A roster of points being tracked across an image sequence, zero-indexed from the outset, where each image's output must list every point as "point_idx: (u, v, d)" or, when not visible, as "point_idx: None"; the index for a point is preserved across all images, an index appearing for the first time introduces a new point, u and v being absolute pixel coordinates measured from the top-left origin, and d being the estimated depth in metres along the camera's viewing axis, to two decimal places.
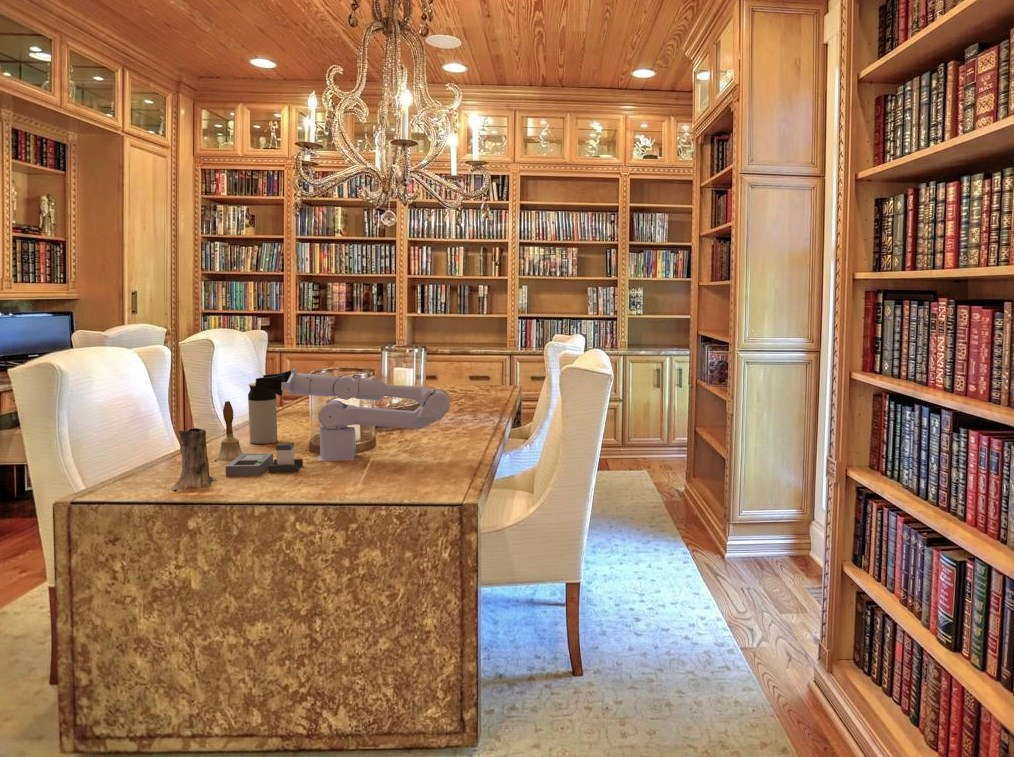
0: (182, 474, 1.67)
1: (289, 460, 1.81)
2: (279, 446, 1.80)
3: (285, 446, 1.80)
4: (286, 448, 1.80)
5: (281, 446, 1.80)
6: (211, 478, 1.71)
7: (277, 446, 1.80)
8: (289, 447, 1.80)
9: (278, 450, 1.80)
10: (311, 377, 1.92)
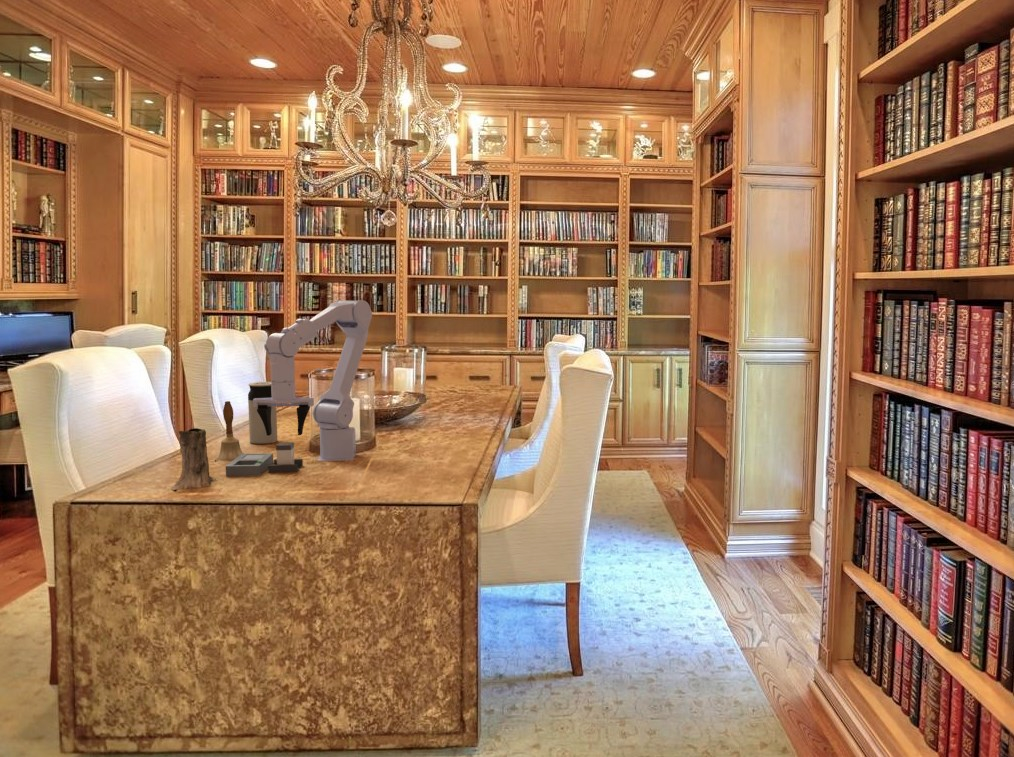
0: (182, 474, 1.67)
1: (289, 460, 1.81)
2: (279, 446, 1.80)
3: (285, 446, 1.80)
4: (286, 448, 1.80)
5: (281, 446, 1.80)
6: (211, 478, 1.71)
7: (277, 446, 1.80)
8: (289, 447, 1.80)
9: (278, 450, 1.80)
10: (288, 381, 1.78)
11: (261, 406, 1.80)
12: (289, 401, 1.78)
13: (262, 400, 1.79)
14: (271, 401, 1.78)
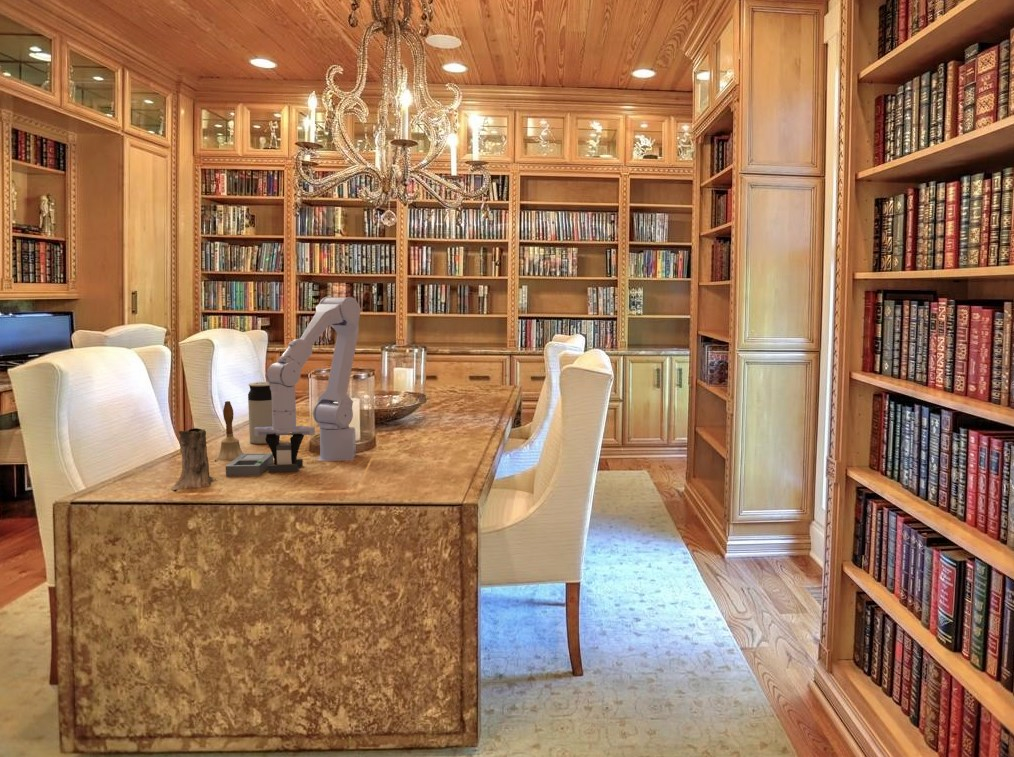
0: (182, 474, 1.67)
1: (289, 460, 1.81)
2: (279, 446, 1.80)
3: (285, 446, 1.80)
4: (286, 448, 1.80)
5: (281, 446, 1.80)
6: (211, 478, 1.71)
7: (277, 446, 1.80)
8: (289, 447, 1.80)
9: (278, 450, 1.80)
10: (289, 410, 1.79)
11: None
12: (290, 430, 1.79)
13: (263, 429, 1.80)
14: (272, 430, 1.79)
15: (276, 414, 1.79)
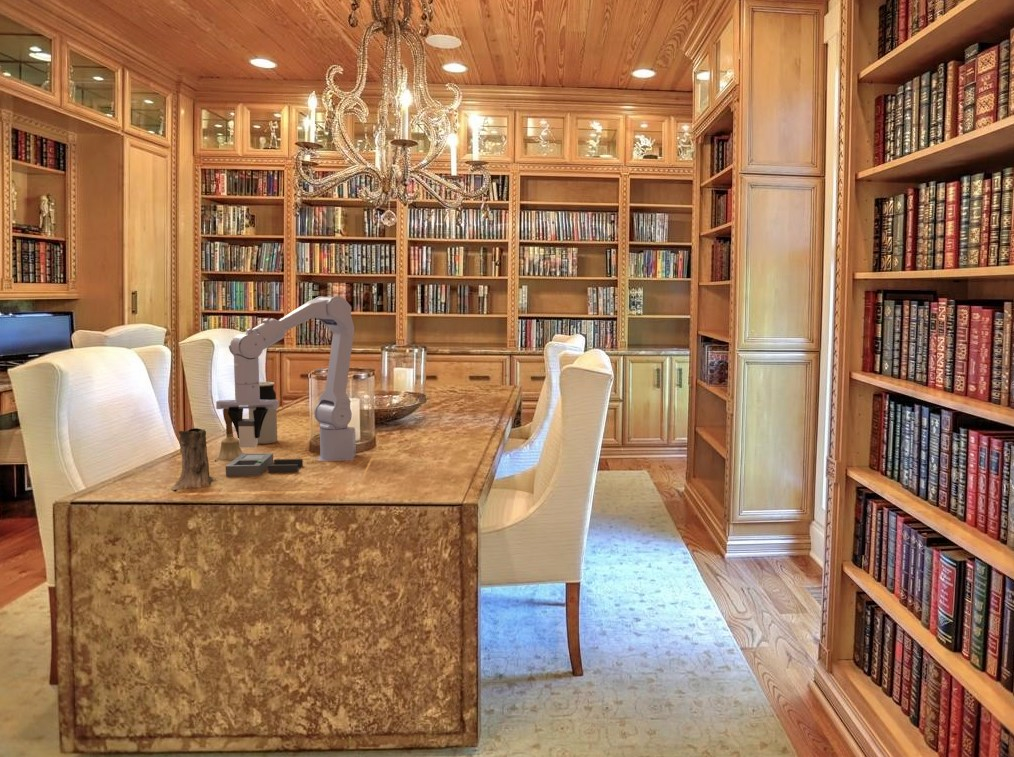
0: (182, 474, 1.67)
1: (251, 436, 1.77)
2: (241, 422, 1.76)
3: (247, 422, 1.76)
4: (248, 424, 1.76)
5: (243, 422, 1.76)
6: (211, 478, 1.71)
7: (239, 422, 1.76)
8: (251, 423, 1.76)
9: (240, 426, 1.76)
10: (252, 383, 1.75)
11: (224, 408, 1.77)
12: (253, 403, 1.75)
13: (225, 402, 1.76)
14: (234, 403, 1.75)
15: (238, 386, 1.75)
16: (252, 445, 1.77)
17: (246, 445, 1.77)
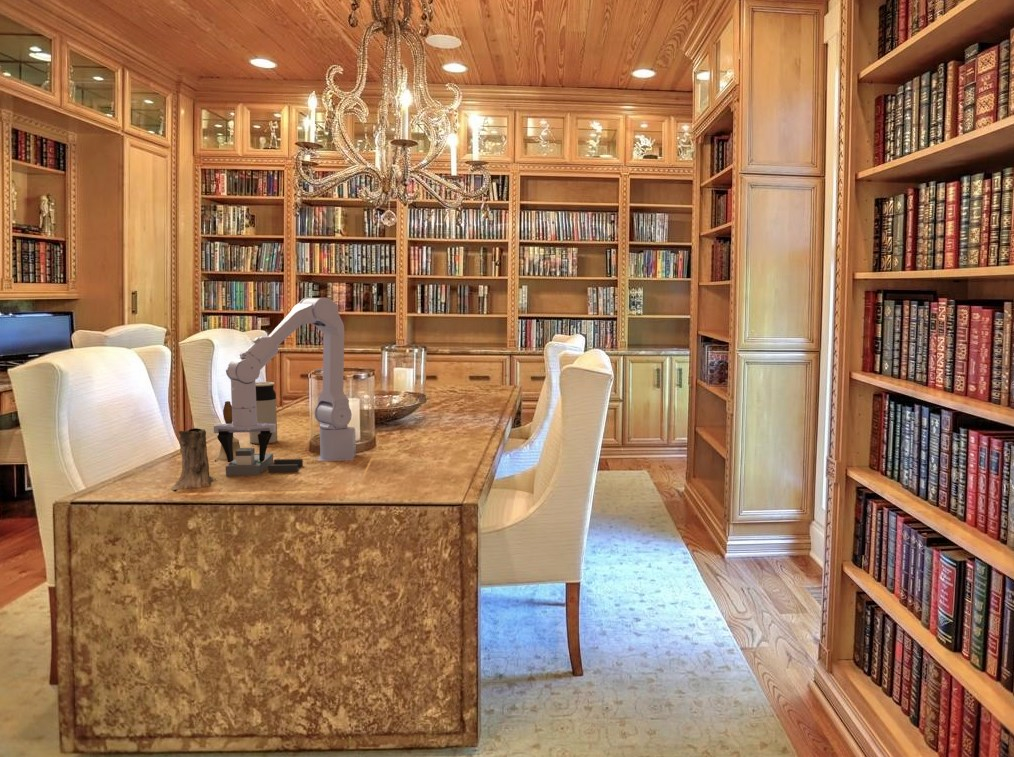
0: (182, 474, 1.67)
1: None
2: (239, 452, 1.77)
3: (245, 452, 1.77)
4: (246, 454, 1.77)
5: (241, 452, 1.77)
6: (211, 478, 1.71)
7: (236, 452, 1.77)
8: (249, 453, 1.77)
9: (238, 456, 1.77)
10: (249, 407, 1.76)
11: (222, 432, 1.77)
12: (250, 428, 1.76)
13: (223, 426, 1.76)
14: (232, 428, 1.76)
15: (236, 411, 1.75)
16: None
17: None
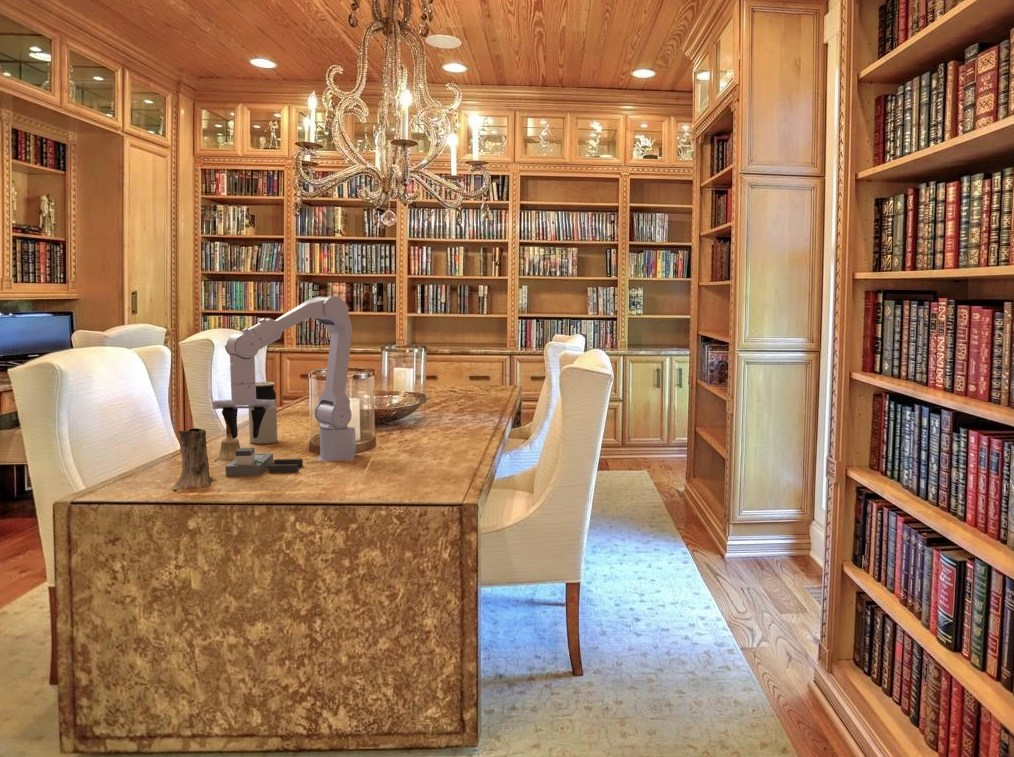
0: (182, 474, 1.67)
1: None
2: (239, 452, 1.77)
3: (245, 452, 1.77)
4: (246, 454, 1.77)
5: (241, 452, 1.77)
6: (211, 478, 1.71)
7: (236, 452, 1.77)
8: (249, 453, 1.77)
9: (238, 456, 1.77)
10: (248, 383, 1.75)
11: (221, 408, 1.76)
12: (249, 403, 1.75)
13: (222, 402, 1.76)
14: (231, 403, 1.75)
15: (235, 386, 1.75)
16: None
17: None
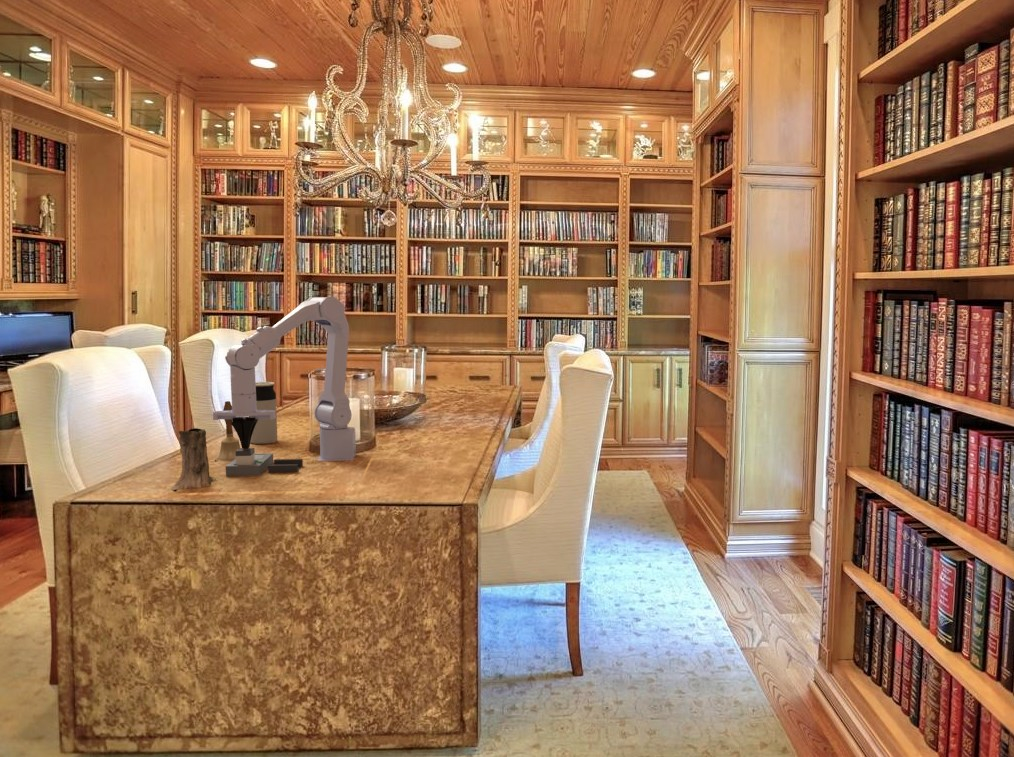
0: (182, 474, 1.67)
1: None
2: (238, 452, 1.77)
3: (245, 452, 1.77)
4: (246, 454, 1.77)
5: (241, 452, 1.77)
6: (211, 478, 1.71)
7: (236, 452, 1.77)
8: (249, 453, 1.77)
9: (237, 456, 1.77)
10: (248, 394, 1.75)
11: None
12: (249, 414, 1.76)
13: (222, 413, 1.76)
14: (231, 414, 1.75)
15: (235, 397, 1.75)
16: None
17: None
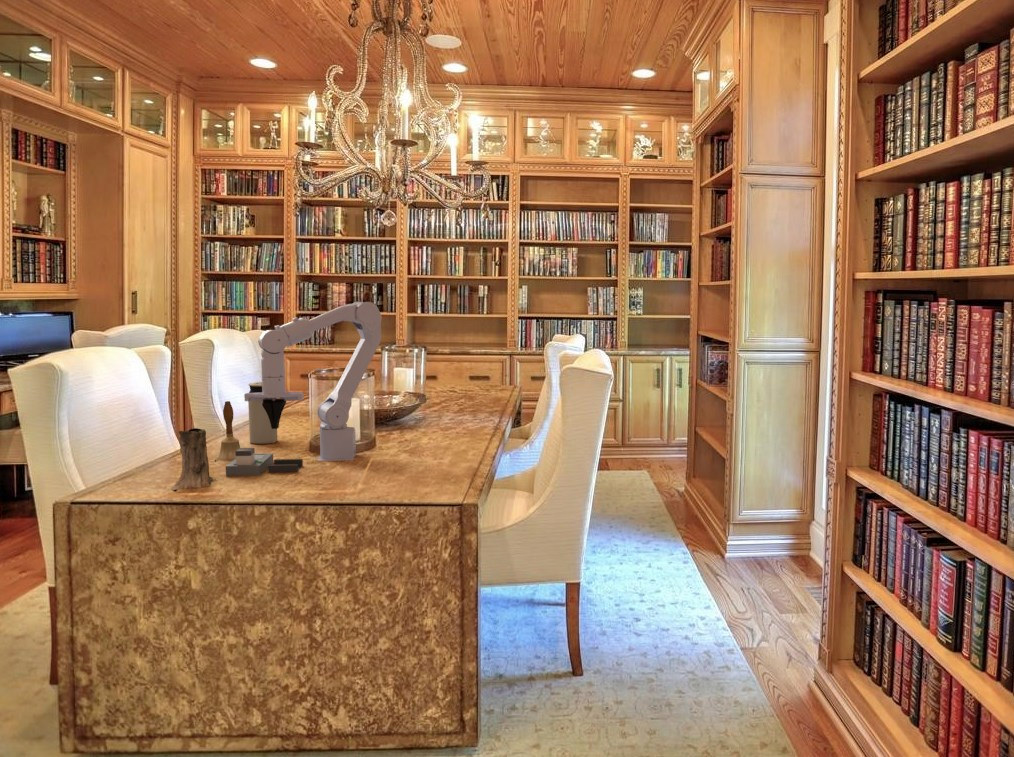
0: (182, 474, 1.67)
1: None
2: (239, 452, 1.77)
3: (245, 452, 1.77)
4: (246, 454, 1.77)
5: (241, 452, 1.77)
6: (211, 478, 1.71)
7: (236, 452, 1.77)
8: (249, 453, 1.77)
9: (238, 456, 1.77)
10: (278, 376, 1.85)
11: (252, 400, 1.86)
12: (279, 396, 1.85)
13: (253, 395, 1.85)
14: (262, 396, 1.85)
15: (265, 379, 1.84)
16: None
17: None
